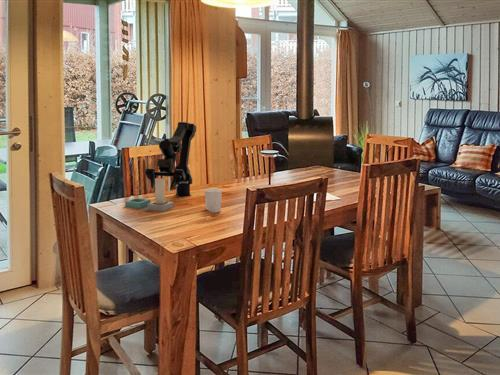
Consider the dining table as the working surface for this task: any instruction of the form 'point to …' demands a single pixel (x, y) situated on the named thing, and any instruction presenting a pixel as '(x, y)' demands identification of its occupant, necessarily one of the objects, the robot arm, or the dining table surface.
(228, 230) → the dining table surface
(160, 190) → the peg
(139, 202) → the socket board
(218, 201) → the white cup
